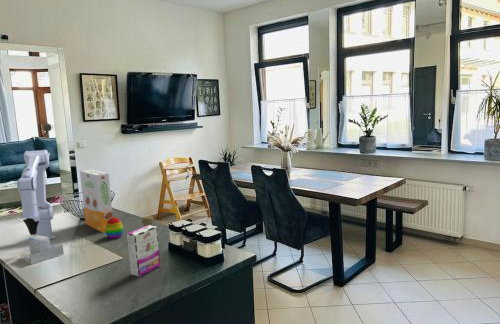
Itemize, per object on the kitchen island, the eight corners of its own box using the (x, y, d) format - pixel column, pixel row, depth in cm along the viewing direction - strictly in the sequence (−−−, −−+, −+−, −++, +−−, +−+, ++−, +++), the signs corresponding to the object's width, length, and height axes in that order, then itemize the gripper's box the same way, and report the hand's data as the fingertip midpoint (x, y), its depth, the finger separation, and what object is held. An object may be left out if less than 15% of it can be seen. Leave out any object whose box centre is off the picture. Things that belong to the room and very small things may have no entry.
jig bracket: (21, 258, 159) (19, 249, 158) (52, 248, 169) (51, 240, 168) (31, 264, 151) (30, 255, 151) (63, 254, 161) (62, 245, 161)
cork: (152, 241, 173) (150, 218, 172) (140, 240, 175) (138, 218, 173) (157, 236, 179) (156, 215, 178) (146, 236, 180) (144, 214, 179)
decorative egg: (126, 234, 185) (124, 214, 184) (119, 239, 177) (117, 219, 176) (111, 234, 186) (109, 215, 185) (103, 239, 178) (101, 219, 177)
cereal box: (113, 229, 193) (108, 173, 189) (102, 232, 189) (96, 175, 185) (96, 221, 209) (91, 169, 205) (85, 223, 205) (79, 170, 201)
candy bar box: (152, 263, 148) (148, 224, 145) (161, 266, 145) (157, 226, 143) (129, 274, 138) (125, 233, 136) (138, 277, 136) (135, 235, 133)
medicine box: (52, 256, 160) (49, 237, 159) (42, 260, 156) (39, 240, 155) (40, 253, 163) (38, 234, 162) (30, 257, 160) (28, 238, 158)
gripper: (13, 204, 163) (17, 233, 165) (25, 209, 154) (29, 240, 156) (30, 200, 169) (34, 229, 171) (43, 205, 159) (47, 235, 162)
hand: (33, 234), depth 164 cm, fingers closed
